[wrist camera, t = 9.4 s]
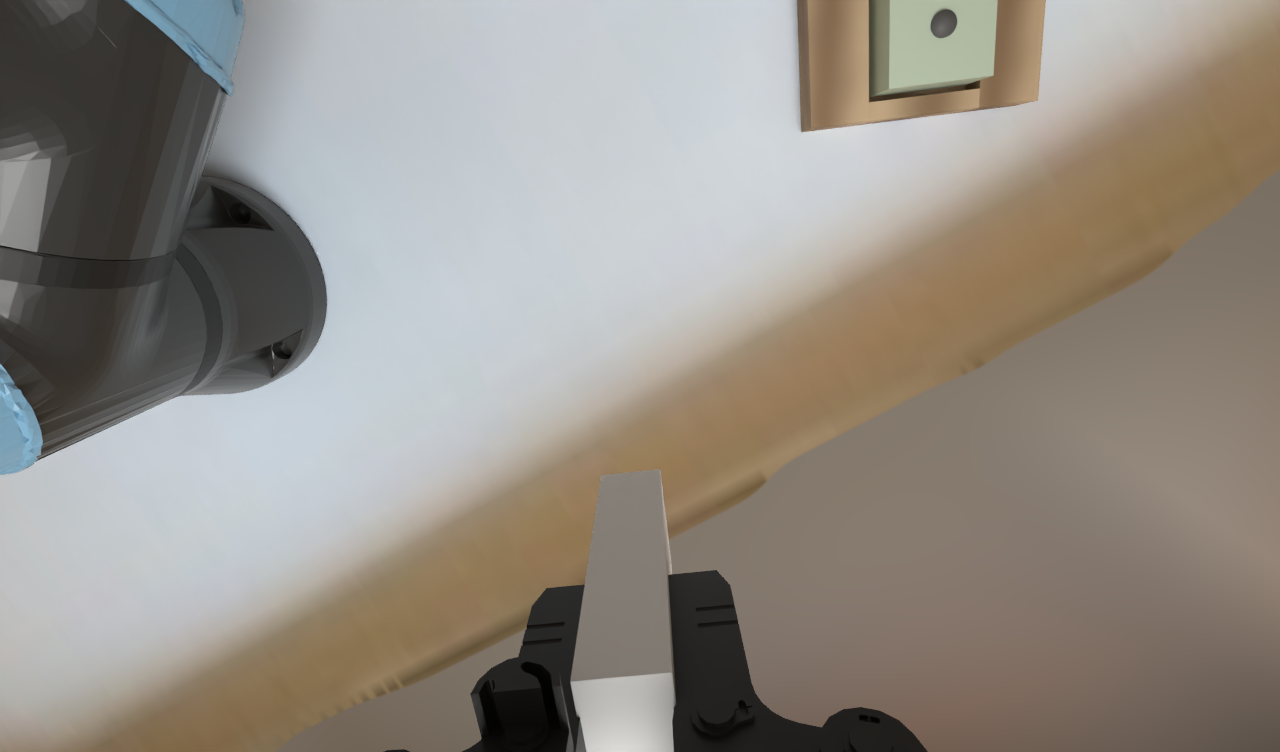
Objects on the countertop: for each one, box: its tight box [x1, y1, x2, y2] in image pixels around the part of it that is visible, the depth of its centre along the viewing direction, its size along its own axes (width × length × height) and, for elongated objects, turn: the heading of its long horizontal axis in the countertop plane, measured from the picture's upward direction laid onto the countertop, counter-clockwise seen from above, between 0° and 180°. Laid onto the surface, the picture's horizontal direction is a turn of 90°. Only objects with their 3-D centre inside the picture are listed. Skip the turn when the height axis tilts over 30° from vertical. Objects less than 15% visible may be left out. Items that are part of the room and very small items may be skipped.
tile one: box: [869, 0, 998, 97], centre depth 35 cm, size 6×6×3 cm
